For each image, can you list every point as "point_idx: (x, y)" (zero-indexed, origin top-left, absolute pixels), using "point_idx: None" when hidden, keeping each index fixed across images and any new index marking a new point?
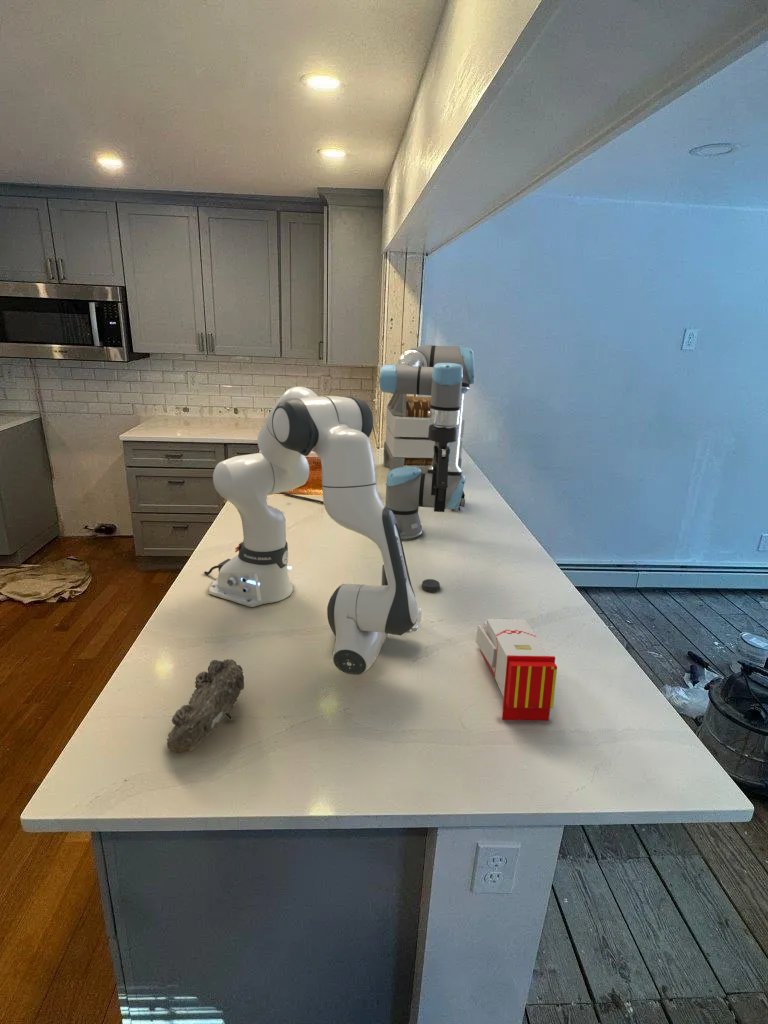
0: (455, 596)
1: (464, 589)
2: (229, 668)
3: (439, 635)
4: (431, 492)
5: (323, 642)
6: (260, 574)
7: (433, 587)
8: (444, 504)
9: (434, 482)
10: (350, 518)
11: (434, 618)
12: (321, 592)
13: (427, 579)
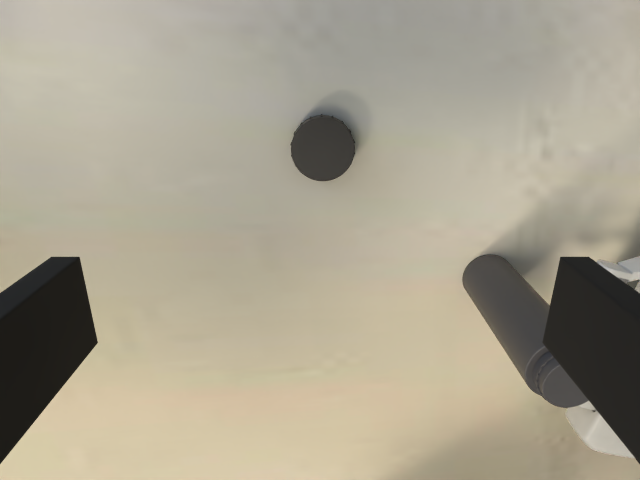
0: (377, 57)
1: (318, 13)
2: None
3: (627, 136)
4: (83, 358)
5: None
6: None
7: (353, 142)
8: (638, 299)
9: (6, 421)
10: None
11: (527, 145)
12: (374, 435)
13: (294, 161)
